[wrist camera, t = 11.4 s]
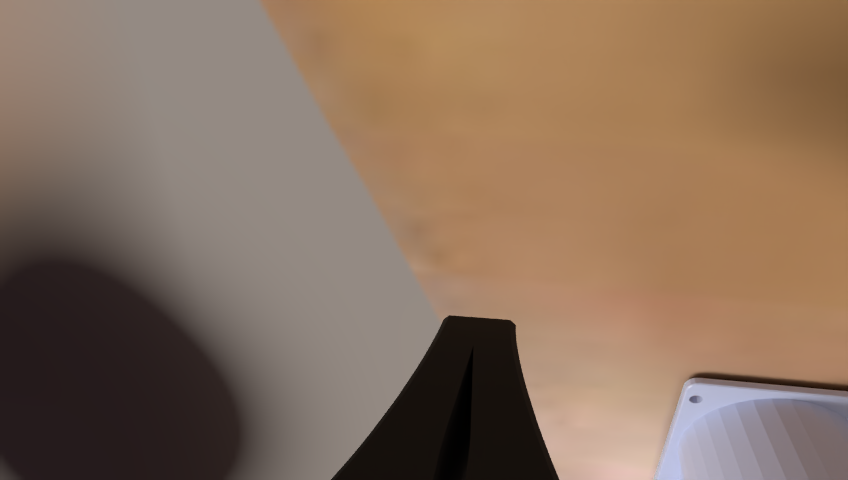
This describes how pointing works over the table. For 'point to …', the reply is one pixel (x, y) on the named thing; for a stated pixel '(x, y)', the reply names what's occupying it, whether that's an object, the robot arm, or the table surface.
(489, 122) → the table surface
